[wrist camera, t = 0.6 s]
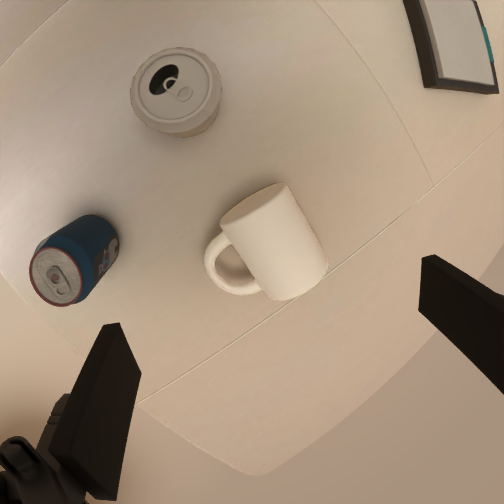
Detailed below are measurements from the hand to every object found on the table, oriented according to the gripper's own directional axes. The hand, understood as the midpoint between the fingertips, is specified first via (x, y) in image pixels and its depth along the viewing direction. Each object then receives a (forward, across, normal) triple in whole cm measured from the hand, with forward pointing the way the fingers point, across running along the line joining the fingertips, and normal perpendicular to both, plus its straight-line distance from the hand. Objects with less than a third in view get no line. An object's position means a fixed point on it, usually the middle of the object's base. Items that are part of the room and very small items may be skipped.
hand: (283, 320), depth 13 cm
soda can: (+26, -18, -1) cm, 31 cm away
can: (+26, -4, +12) cm, 29 cm away
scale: (+26, +34, +20) cm, 47 cm away
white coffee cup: (+26, +1, -5) cm, 26 cm away
